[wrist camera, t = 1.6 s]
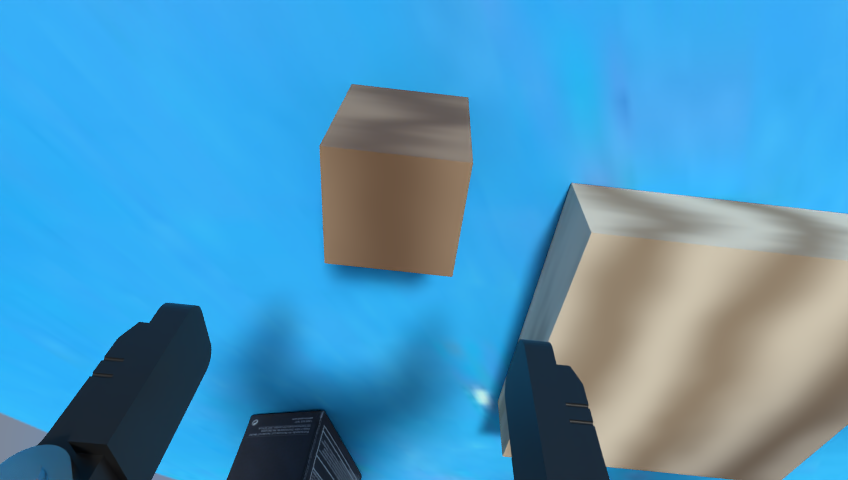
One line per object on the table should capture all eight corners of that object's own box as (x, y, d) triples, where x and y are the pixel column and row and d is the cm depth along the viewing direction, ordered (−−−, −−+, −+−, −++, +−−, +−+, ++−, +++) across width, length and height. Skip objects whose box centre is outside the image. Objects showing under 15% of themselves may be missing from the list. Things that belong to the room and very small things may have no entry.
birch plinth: (939, 224, 22) (1020, 280, 19) (745, 426, 33) (776, 483, 30) (571, 183, 22) (591, 232, 19) (497, 401, 33) (502, 456, 30)
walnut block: (468, 97, 20) (472, 162, 15) (452, 195, 23) (452, 276, 18) (352, 83, 20) (319, 145, 15) (351, 184, 23) (324, 263, 18)
